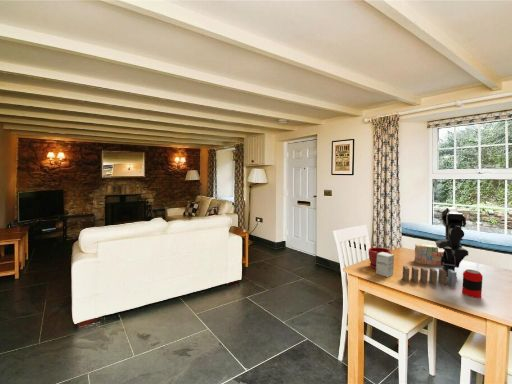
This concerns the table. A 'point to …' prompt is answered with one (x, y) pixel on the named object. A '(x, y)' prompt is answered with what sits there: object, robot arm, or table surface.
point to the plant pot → (374, 255)
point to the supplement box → (385, 264)
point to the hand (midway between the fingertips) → (452, 263)
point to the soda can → (472, 283)
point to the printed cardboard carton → (428, 254)
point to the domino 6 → (451, 277)
